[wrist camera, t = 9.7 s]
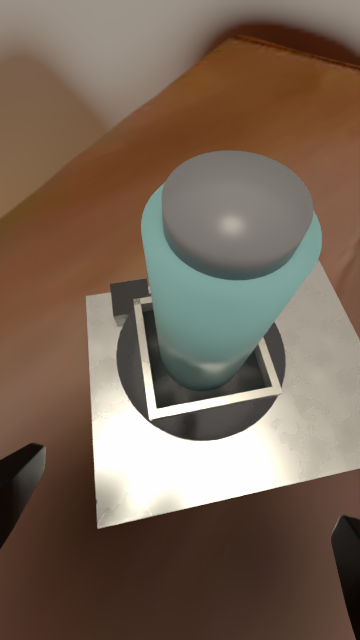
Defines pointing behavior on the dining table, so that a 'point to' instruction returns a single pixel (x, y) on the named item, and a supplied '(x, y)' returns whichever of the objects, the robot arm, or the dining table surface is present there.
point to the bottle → (224, 260)
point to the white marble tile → (219, 407)
